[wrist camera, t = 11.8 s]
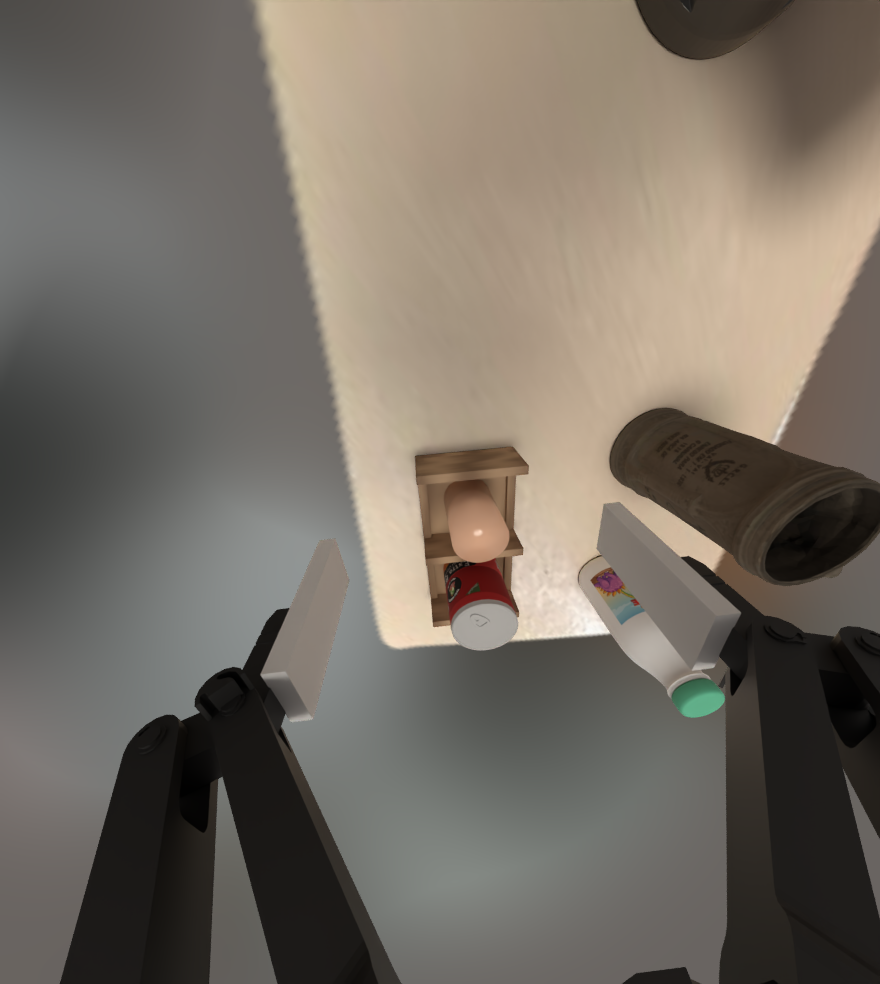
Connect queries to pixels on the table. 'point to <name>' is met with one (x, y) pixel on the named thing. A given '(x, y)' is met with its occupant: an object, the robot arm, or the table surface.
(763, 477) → the beer stein
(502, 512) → the rack
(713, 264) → the table surface
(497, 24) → the table surface
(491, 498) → the peach rounded block
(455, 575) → the canned food
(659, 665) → the milk bottle
